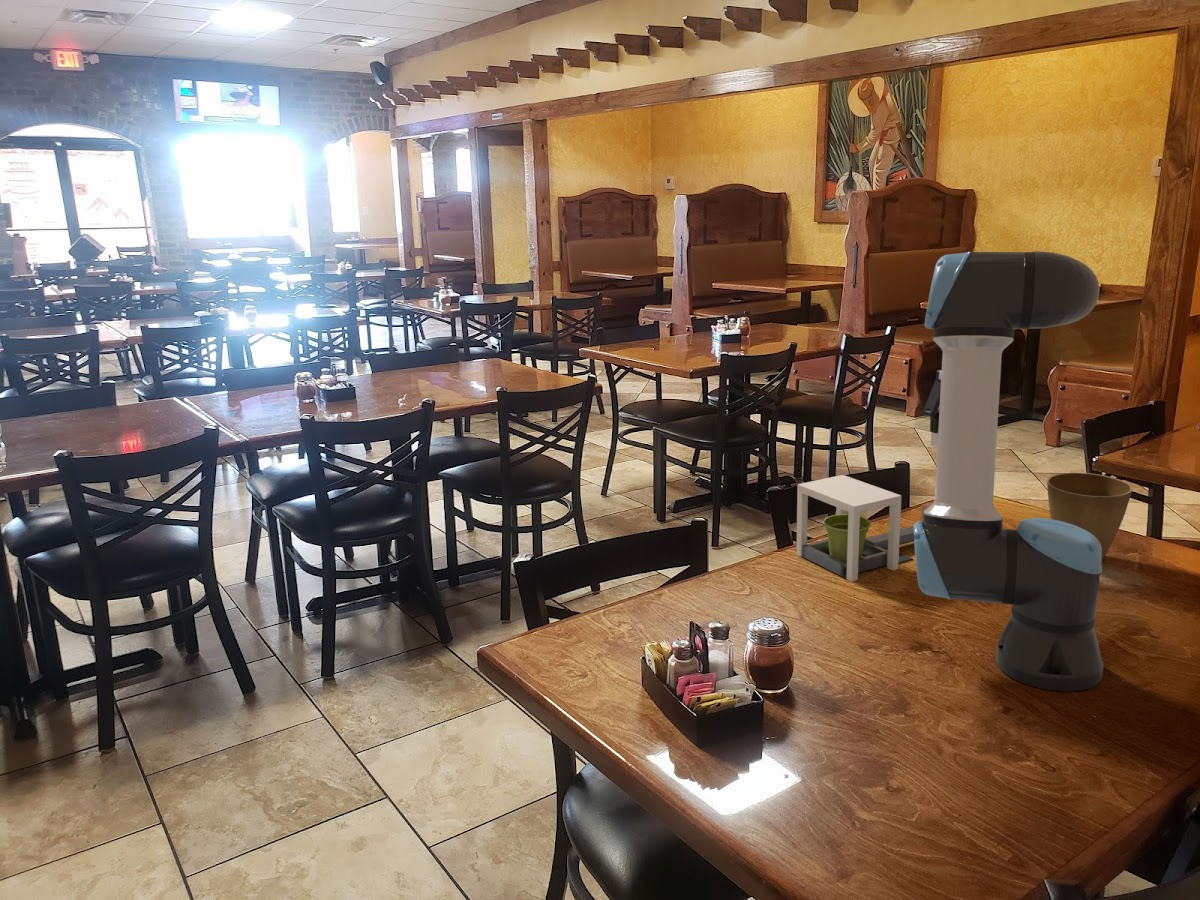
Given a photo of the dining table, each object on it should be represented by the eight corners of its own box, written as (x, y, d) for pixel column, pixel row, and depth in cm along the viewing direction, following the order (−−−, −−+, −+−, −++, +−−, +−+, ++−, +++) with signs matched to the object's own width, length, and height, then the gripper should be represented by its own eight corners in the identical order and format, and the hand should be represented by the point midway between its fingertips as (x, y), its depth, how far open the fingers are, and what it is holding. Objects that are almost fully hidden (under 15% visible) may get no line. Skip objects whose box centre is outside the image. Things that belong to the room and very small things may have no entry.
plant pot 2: (1024, 554, 188) (1030, 480, 184) (1074, 540, 194) (1081, 468, 190) (1088, 579, 175) (1097, 500, 171) (1140, 564, 181) (1150, 487, 177)
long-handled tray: (964, 543, 194) (966, 515, 193) (842, 576, 180) (843, 546, 179) (920, 526, 205) (922, 499, 204) (802, 556, 191) (802, 528, 190)
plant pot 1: (875, 557, 190) (876, 518, 188) (861, 573, 182) (863, 532, 180) (831, 550, 195) (832, 511, 193) (816, 565, 187) (816, 525, 185)
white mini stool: (920, 562, 186) (924, 490, 182) (851, 581, 179) (854, 506, 175) (862, 537, 201) (864, 470, 197) (796, 554, 193) (797, 484, 189)
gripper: (994, 333, 199) (987, 427, 205) (908, 349, 188) (903, 447, 195) (1023, 338, 192) (1015, 434, 199) (935, 354, 182) (930, 456, 188)
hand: (960, 441), depth 197 cm, fingers open, 13 cm apart
